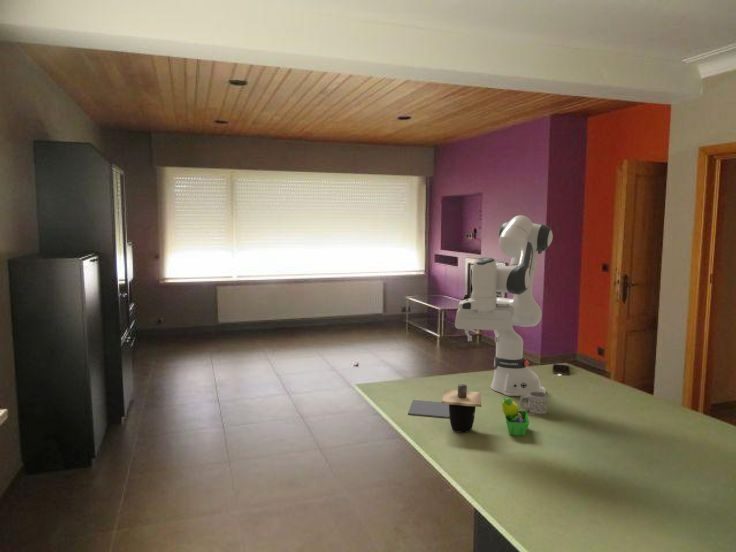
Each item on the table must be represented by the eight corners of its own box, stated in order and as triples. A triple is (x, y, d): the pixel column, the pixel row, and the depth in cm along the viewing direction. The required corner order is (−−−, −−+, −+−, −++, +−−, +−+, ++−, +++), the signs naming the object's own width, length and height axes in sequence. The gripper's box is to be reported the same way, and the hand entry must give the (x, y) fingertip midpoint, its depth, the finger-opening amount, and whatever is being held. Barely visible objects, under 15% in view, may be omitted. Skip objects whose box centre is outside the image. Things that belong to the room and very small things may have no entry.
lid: (481, 394, 185) (481, 381, 185) (481, 406, 173) (481, 392, 172) (444, 391, 188) (444, 378, 188) (441, 403, 175) (441, 389, 175)
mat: (451, 404, 204) (451, 403, 204) (449, 418, 190) (449, 416, 190) (413, 401, 207) (413, 399, 207) (407, 414, 193) (407, 413, 193)
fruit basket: (529, 438, 173) (530, 405, 172) (501, 435, 175) (503, 402, 174) (526, 425, 184) (527, 394, 183) (500, 423, 186) (501, 392, 185)
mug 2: (544, 408, 201) (545, 391, 200) (548, 415, 195) (549, 397, 194) (517, 407, 202) (518, 390, 201) (520, 413, 196) (521, 396, 195)
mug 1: (476, 434, 175) (477, 405, 174) (449, 433, 176) (450, 404, 174) (470, 421, 187) (471, 393, 186) (445, 420, 187) (446, 392, 186)
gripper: (513, 302, 187) (512, 340, 189) (455, 301, 191) (455, 338, 193) (514, 306, 181) (513, 345, 183) (454, 304, 185) (454, 342, 187)
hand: (483, 341), depth 188 cm, fingers open, 8 cm apart
